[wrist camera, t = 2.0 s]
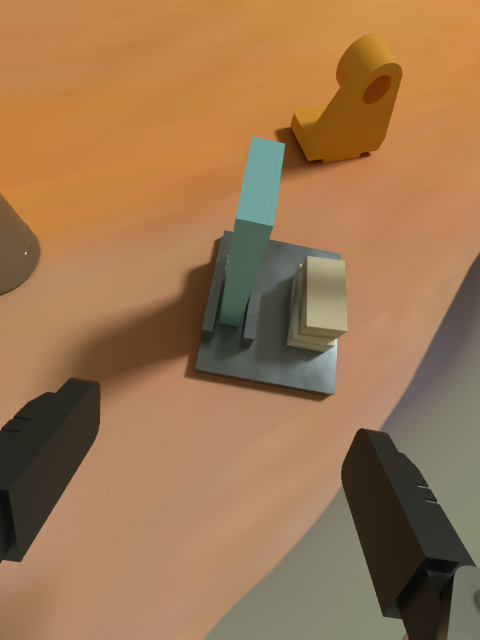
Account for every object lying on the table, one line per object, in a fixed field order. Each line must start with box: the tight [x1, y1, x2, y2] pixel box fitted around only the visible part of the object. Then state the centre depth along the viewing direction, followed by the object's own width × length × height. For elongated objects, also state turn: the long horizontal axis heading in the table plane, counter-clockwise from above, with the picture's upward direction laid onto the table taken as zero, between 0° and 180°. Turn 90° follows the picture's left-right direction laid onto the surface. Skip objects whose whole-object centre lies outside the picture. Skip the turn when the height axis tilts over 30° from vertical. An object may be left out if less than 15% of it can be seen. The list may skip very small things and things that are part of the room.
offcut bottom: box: [286, 264, 335, 352], centre depth 31 cm, size 8×4×2 cm, turn 171°
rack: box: [195, 230, 341, 396], centre depth 31 cm, size 16×14×4 cm
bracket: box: [291, 34, 402, 163], centre depth 38 cm, size 11×7×12 cm, turn 108°
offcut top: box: [298, 256, 347, 339], centre depth 29 cm, size 7×4×2 cm, turn 175°
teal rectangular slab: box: [219, 136, 285, 326], centre depth 24 cm, size 6×2×16 cm, turn 171°
